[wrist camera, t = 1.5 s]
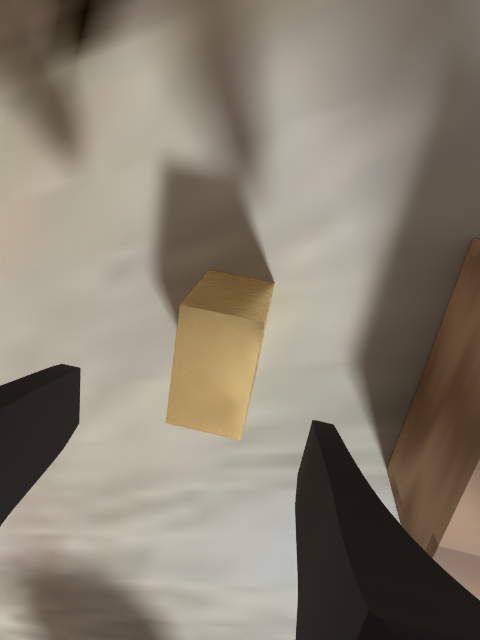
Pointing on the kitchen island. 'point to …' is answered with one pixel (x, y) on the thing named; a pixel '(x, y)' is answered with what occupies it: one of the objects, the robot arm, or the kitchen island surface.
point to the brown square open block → (446, 440)
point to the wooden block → (218, 353)
